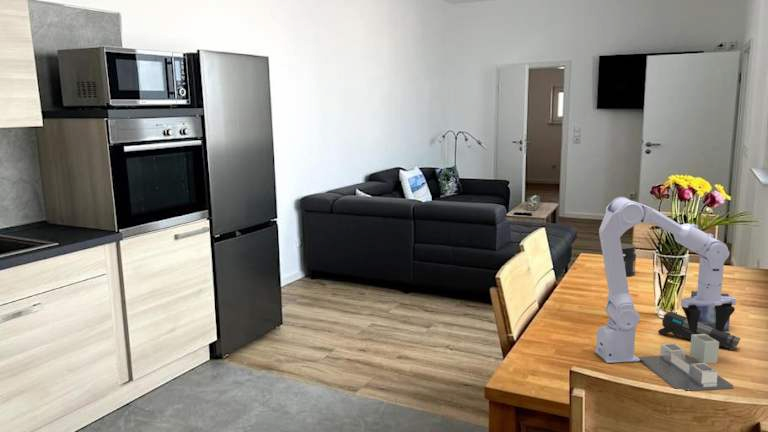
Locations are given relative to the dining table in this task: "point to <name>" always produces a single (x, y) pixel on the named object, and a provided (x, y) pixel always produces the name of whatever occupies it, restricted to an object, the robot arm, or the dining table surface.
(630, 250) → the supplement container
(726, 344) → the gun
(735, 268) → the dining table surface
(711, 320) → the small box
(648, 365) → the panel
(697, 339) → the block
